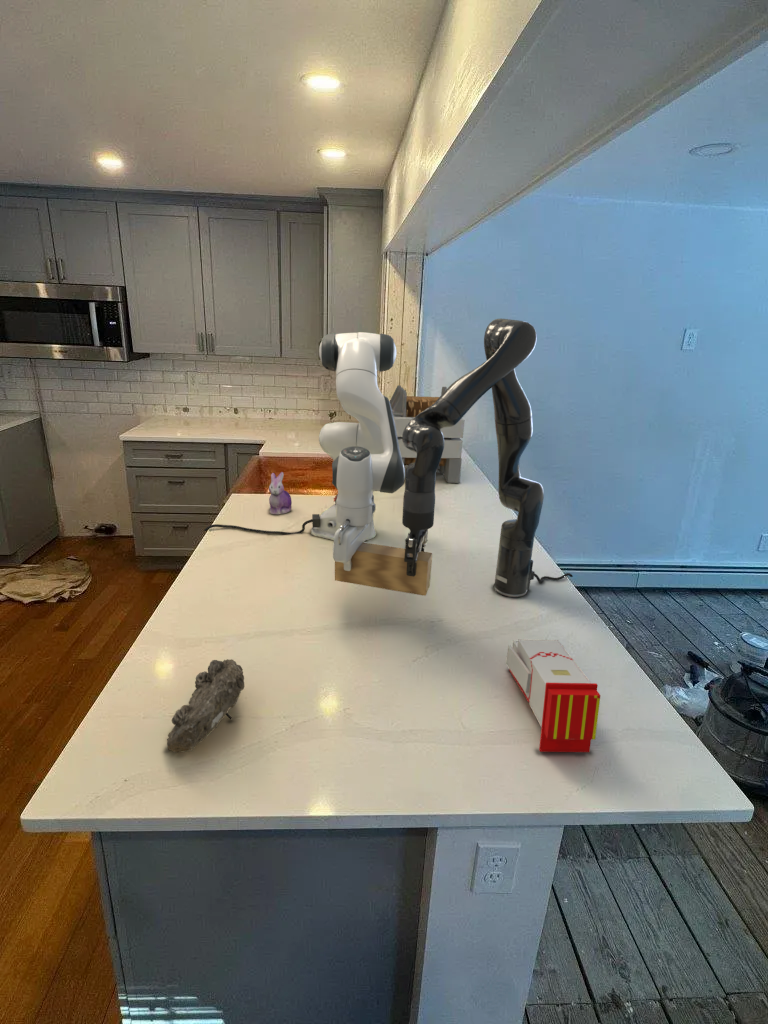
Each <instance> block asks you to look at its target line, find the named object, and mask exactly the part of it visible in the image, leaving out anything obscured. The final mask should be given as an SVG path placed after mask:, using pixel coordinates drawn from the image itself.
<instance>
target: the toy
mask: <svg viewBox="0 0 768 1024" xmlns="http://www.w3.org/2000/svg"><path fill="white" fill-rule="evenodd" d="M505 659H506V660H505V665H506V666H507V667H508V671H509V673H510V674H511V676H512V678H513V679H514V681H515V682H516V685H517V686H518V688H519V690H520V691H521V692H522V694H523V697H525V699H526V701H527V703H529V707H530V709H531V711H532V712H533V714H534V716H535V718H536V720H537V722H538V724H539V726H540V728H541V729H540V739H539V748H538V751H539V752H540V753H543V752H544V753H590V752H591V744H592V743H591V742H592V740H596V736H597V727H598V720H599V719H598V718H599V710H600V704H601V703H600V702H601V696H602V695H601V694H600V693H599V692H598V687H599V686H598V683H595V682H594V683H592V682H591V681H590V679H589V678H588V677H587V676H586V674H585V673H584V671H583V670H582V669H581V668H580V666H579V665H578V664H577V663H576V662H575V661H576V660H574V659H573V658H572V656H571V655H570V653H568V651H567V650H566V648H565V647H564V645H563V644H562V643H561V642H560V641H559V639H529V638H528V639H524V638H521V639H517V640H512V645H511V644H510V645H509V644H508V646H507V653H506V658H505Z"/></svg>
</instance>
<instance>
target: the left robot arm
mask: <svg viewBox="0 0 768 1024" xmlns="http://www.w3.org/2000/svg"><path fill="white" fill-rule="evenodd" d="M318 356H319V360H320V362H321V365H322V367H323V368H324V369H325V370H328V371H331V372H335V391H336V392H335V393H336V398H337V400H338V401H339V403H340V405H341V408H342V409H343V411H344V412H345V413H346V414H347V415H348V416H350V417H352V418H354V419H356V420H357V422H348V421H335V422H330V423H325V424H324V425H323V426H322V427H321V429H320V431H319V435H318V442H319V446H320V448H321V450H322V451H323V452H324V453H325V454H327V455H328V456H329V457H330V459H332V464H331V471H332V478H331V479H332V481H331V484H332V485H333V486H334V488H335V489H336V490H337V494H336V495H335V496H334V497H333V502H334V504H333V505H331V506H329V507H328V508H326V509H325V510H323V512H321V514H320V513H312V517H311V519H308V520H306V521H305V522H304V523H302V525H301V529H300V530H299V531H295V532H288V531H280V530H279V531H278V530H263V529H257V528H249V527H244V526H239V525H231V524H220V523H219V524H211V525H209V526H207V527H205V528H204V529H203V531H204V532H207V531H209V530H210V529H212V528H222V529H223V528H224V529H235V530H236V529H237V530H241V531H246V532H251V533H260V534H267V535H284V536H285V535H286V536H287V535H296V534H302V533H303V532H305V530H306V525H308V524H310V523H312V526H311V527H312V528H311V530H310V533H311V536H315V537H319V538H323V539H326V540H330V541H333V547H332V559H333V561H334V562H335V561H336V562H342V563H344V570H346V571H350V570H351V569H352V562H351V558H352V556H353V555H354V554H355V552H356V550H357V549H358V548H359V547H360V545H361V544H362V543H363V542H364V543H365V541H368V540H372V539H373V538H375V537H376V535H377V532H376V528H375V523H374V513H375V511H376V503H375V496H374V492H380V493H383V494H384V493H387V494H394V493H396V492H397V491H398V490H400V489H401V488H402V487H403V486H404V485H405V481H406V468H405V465H404V464H403V461H402V458H401V454H400V449H399V444H398V439H397V433H396V428H395V422H394V417H393V413H392V408H391V404H390V402H389V401H390V400H389V398H388V397H387V396H385V395H384V394H383V392H382V391H381V390H380V387H379V384H378V371H379V372H380V373H382V372H387V371H389V370H390V369H392V368H393V367H394V364H395V361H396V360H397V359H396V358H397V347H396V343H395V340H394V338H393V337H392V336H391V335H389V334H386V333H382V332H380V333H374V332H373V333H372V332H365V331H364V332H363V331H358V332H343V333H336V332H333V333H328V334H325V335H324V336H323V337H322V338H321V342H320V344H319V347H318Z"/></svg>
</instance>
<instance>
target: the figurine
mask: <svg viewBox="0 0 768 1024" xmlns="http://www.w3.org/2000/svg"><path fill="white" fill-rule="evenodd" d="M284 476H285V475H284V472H283V471H281V472H280V473H279V474H278V475H276V474H275V473H274V472H272V473H271V474H270V484H269V486H268V492H269V493H270V495H269V498H268V504H269V507H270V508H269V513H270V514H271V515H281V514H286V513H289V512H291V510H292V503H293V501H292V496H291V494H290V493H289V492H288V491H287V490H285V487H284V484H283V479H284Z"/></svg>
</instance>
